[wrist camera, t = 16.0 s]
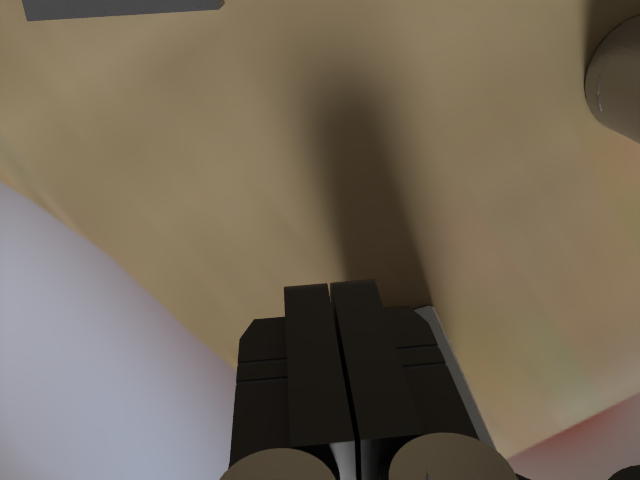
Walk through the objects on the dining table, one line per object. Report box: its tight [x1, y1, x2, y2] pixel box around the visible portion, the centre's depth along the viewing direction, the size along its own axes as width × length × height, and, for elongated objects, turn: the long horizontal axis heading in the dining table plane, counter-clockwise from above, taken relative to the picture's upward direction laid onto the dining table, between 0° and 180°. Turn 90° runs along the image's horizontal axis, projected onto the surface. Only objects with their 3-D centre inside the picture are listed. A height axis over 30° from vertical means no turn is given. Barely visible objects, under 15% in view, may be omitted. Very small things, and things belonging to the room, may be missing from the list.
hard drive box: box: [414, 306, 497, 451], centre depth 49 cm, size 16×8×20 cm, turn 16°
